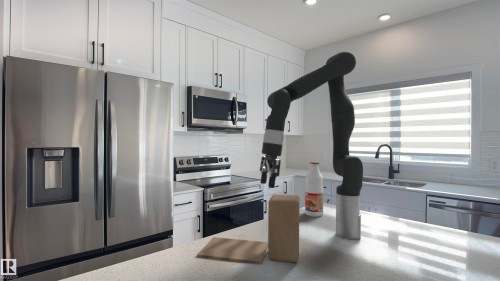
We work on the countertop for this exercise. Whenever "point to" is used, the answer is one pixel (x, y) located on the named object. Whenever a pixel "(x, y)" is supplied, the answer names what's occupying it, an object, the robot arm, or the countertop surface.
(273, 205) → the block
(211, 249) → the cutting board
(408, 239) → the countertop surface
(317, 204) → the fruit juice
